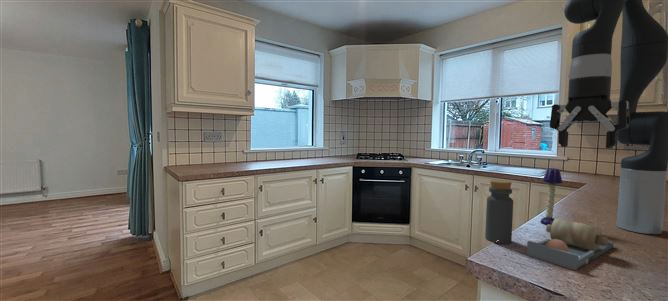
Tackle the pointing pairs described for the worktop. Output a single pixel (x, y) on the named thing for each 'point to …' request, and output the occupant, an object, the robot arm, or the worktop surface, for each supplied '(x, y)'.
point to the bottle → (499, 213)
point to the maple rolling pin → (577, 234)
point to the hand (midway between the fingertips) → (585, 147)
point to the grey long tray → (565, 254)
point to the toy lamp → (551, 193)
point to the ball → (557, 244)
